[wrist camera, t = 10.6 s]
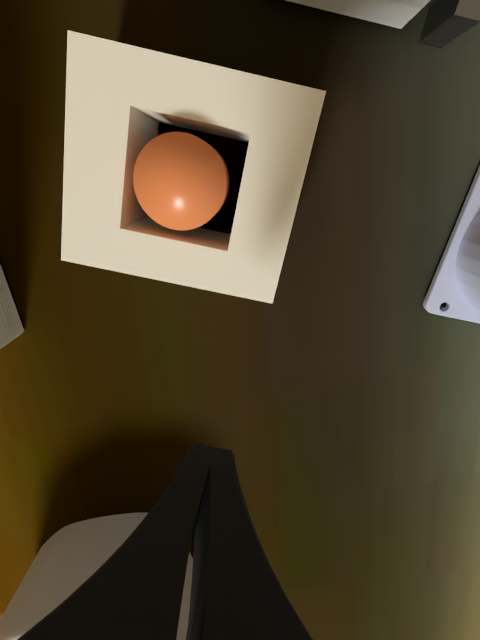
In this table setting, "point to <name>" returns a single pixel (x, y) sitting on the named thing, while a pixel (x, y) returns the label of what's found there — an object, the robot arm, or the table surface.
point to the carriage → (371, 9)
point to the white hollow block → (142, 126)
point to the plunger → (180, 180)
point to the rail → (449, 20)
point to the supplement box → (8, 314)
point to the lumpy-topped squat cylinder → (74, 571)
